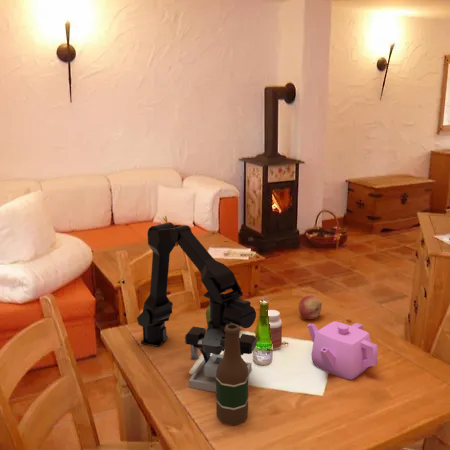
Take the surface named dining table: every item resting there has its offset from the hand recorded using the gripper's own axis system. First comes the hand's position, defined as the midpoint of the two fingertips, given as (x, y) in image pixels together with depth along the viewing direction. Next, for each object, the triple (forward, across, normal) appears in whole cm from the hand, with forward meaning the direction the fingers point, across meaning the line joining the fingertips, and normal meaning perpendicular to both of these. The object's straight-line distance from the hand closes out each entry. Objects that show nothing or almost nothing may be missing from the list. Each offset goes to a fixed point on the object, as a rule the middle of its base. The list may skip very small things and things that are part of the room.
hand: (220, 367), depth 141 cm
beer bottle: (+3, +8, -15) cm, 17 cm away
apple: (+4, -8, +26) cm, 27 cm away
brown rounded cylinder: (+3, -11, +8) cm, 14 cm away
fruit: (+3, +17, +45) cm, 48 cm away
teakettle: (+4, +30, +17) cm, 35 cm away
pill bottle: (+3, +9, +22) cm, 24 cm away
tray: (+3, 0, 0) cm, 3 cm away
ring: (+1, 0, 0) cm, 1 cm away
